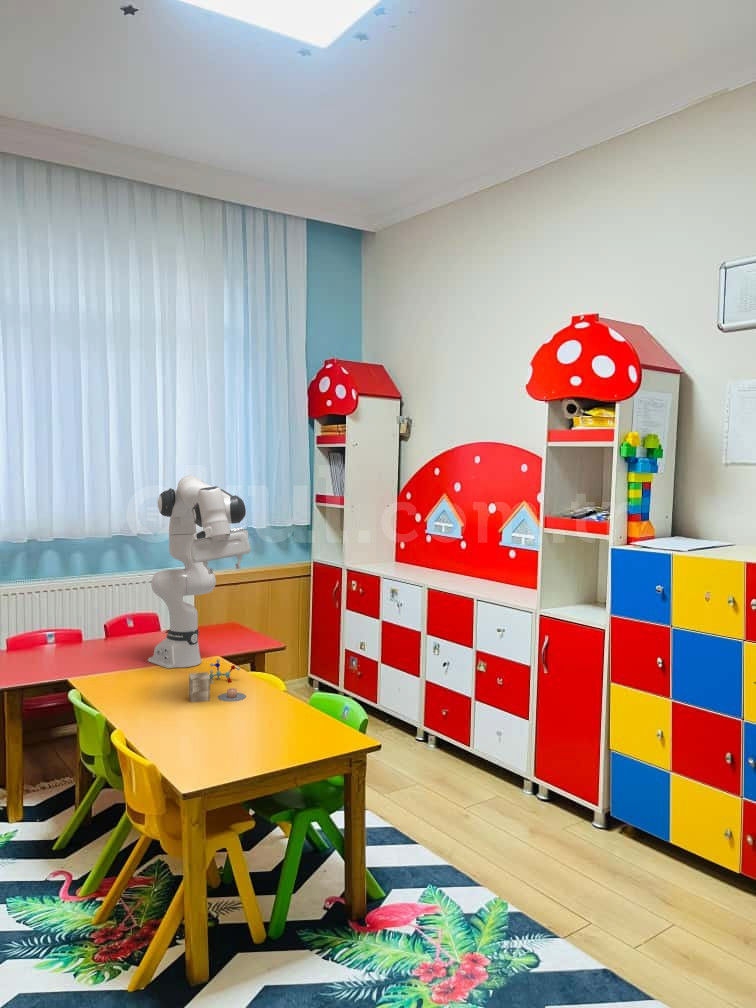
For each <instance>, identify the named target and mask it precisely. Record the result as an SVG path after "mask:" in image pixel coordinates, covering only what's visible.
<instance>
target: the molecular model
mask: <svg viewBox="0 0 756 1008" xmlns="http://www.w3.org/2000/svg"><path fill="white" fill-rule="evenodd" d="M220 661H221V660H220V659H219V658H218V659H216V660H215V662H216V663H212V662H211V663H210V664H209V666H210V667H214V666H215V667H216V669H217V672H216V673H215V674H214V670H213V669H210V671H209V676H210V685H211V684H213V685H214V681H213V679H214V677H216V680H219V679H221V678H220V677H221V676H224V677H226V680H227V683H229V684H230V683H233V680H232V679H231V677H230V676H231V672H232V670H236V671H240V670H241V667H239V666H237V667H236V666H235V665H231V666H230V669H229V671H227V672H225V673H222V672H221V671H220V666H221V664H220Z"/></svg>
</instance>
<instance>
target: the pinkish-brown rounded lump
mask: <svg viewBox="0 0 756 1008" xmlns="http://www.w3.org/2000/svg"><path fill="white" fill-rule="evenodd" d="M226 693H227V698H236V697H237V693H238V689H237V688H232V687H231V688H227V689H226Z"/></svg>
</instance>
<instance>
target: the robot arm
mask: <svg viewBox="0 0 756 1008" xmlns="http://www.w3.org/2000/svg"><path fill="white" fill-rule="evenodd" d="M157 508H158V511H159V513H160V515H161V516H162V517H166V518H167V517H168V518H169V525H168V551H169V554H170V556H171V557H172V558H173V559H175V560H177V561H179V562H181V563H183V565H184V568H177V569H174V568H173V569H164V570H161V571H157V572H155V574H154V575H152V579H151V582H150V583H151V590H152V591H153V593H154V594H155V595H156V596H157V597H159V599H161V600H163V602H164V603H165V605H166V607H167V610H168V615H169V629H167V630H165V631H164V634H166V637H165V638H164V639H163V640H162V641H160V642H158V644H156V645H155V647H154V650H153V655H152V656H150V657H148V659H147V662H149V663H151V664H154V665H156V666H160V667H163V668H166V669H173V668H189V667H195V666H198V665H200V664H201V663H202V659H201V658H202V657H201V653H200V645H199V637H200V636H199V635H200V634H199V633H200V631H199V630H200V629H199V628H198V625H199V624H198V623H199V622H198V621H199V620H198V619H199V618H198V617H199V616H198V615H199V613H198V610H197V608H196V607H195V606H194V605H192V604H190V603H187V602H185V601H184V597H189V596H200V595H205V594H209V593H212V592H213V590H214V589H215V587H216V585H217V579H216V575H215V574H214V571H213V568H210V567H209V565H208V564H209V561H210V562H211V561H214V560H220V559H227V558H232V557H236V559H237V563H234V566H235V570H239V569H241V561H242V559H243V557H242V555H248V554H250V553H251V551H252V550H251V549H252V548H251V545H250V542H249V541H250V540H249V538H250V535H249V531H248V530H247V529H246V528H243V527H238V528H233V529H231V528H230V525H231V524H232V525H234V524H240V523H241V522H242V521H243V520H244V518H245V517H246V513H247V511H246V510H247V509H246V505H245V503H244V501H243V499H242V498H241V497H239V496H238V495H233V494H231V493H229V492H227V491H226V490H224V489H222V488H220V487H219V486H217V485H215V486H212V485H210V484H208V483H205V482H204V481H203V480H202V479H200V478H199V477H197V476H195V475H185V476H184V477H181V479H179V480H178V483H177V488H176V489H173V488H172V487H170V488H169V489H168V490H164V491H162V492H161V493H160V494H159V496H158V499H157ZM197 526H199V527H200V528H202V529H201V530H199V531H198V532H197Z"/></svg>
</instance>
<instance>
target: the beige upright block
mask: <svg viewBox="0 0 756 1008" xmlns="http://www.w3.org/2000/svg"><path fill="white" fill-rule="evenodd" d="M209 675H210V673H208V671H206V672H194V673H188V698H189V701H190V703H201V702H210V701H211V700H210V699H211V695H210V694H211V679H210V676H209Z"/></svg>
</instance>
